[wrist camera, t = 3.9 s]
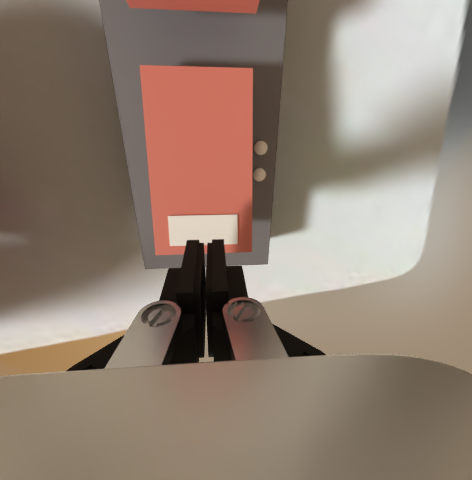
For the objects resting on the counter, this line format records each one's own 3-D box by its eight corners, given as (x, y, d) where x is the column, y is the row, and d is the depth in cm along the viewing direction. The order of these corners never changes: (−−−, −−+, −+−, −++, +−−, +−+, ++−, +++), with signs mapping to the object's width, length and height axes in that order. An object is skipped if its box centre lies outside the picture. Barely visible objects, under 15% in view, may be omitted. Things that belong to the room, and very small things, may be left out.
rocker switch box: (55, -462, 9) (-97, -1025, 5) (295, -416, 10) (366, -863, 6) (155, 243, 22) (141, 278, 17) (258, 240, 23) (271, 273, 18)
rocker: (148, 78, 13) (138, 64, 12) (248, 80, 14) (253, 67, 12) (161, 247, 15) (155, 255, 14) (248, 245, 16) (252, 252, 14)
